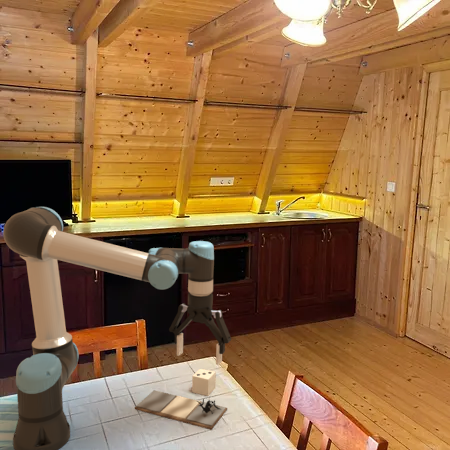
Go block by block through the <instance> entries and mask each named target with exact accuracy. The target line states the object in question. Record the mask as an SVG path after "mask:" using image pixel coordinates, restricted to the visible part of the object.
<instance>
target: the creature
mask: <svg viewBox="0 0 450 450" xmlns="http://www.w3.org/2000/svg"><path fill="white" fill-rule="evenodd" d="M199 401H200V400H197V401H196V402H198V403H199V404H200V405H198V406H201V407H202V409H203V411H205V412H206V413H208V412H209V411H211V410H210V408H211V407H212V406H213V405H214V406H215V408H217V409H220V408H218V407H217V406H216V405H217V404H216V400H210V399H208V400H207V401H206V402H205V398H203V399H202V402H203V403H202V404H201V403H200V402H199ZM204 402H205V403H206V405H205V407H203V406H202V405H203V404H204ZM211 404H213V405H211ZM217 409H216V410H217ZM211 412H212V411H211ZM212 414H213V413H212Z"/></svg>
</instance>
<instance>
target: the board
mask: <svg viewBox="0 0 450 450" xmlns="http://www.w3.org/2000/svg"><path fill="white" fill-rule="evenodd" d="M196 401H199V402H200V403H201V404H202V403H203V401H201V400H197V399H193V398H188V397H185V396H180V395H176V394H173V393H167V392H164V391H161V390H155V389H154V390H152V391H151V392H150V393H149V394H148V395H147V396H146V397H145V398H143V399H142V400H141V401H140V402H138V403H137V405H136V406H134V410H136V411H139V412H143V413H147V414H150V415H154V416H157V417H158V416H159V417H163V418H165V419H166V418H167V419H170V420H174V421H176V422H177V421H178V422H181V423H184V424H189V425H193V426H196V427H200V428H204V429H208V430H213V429H214V427H215V426H216V425H217V424H218V422H219V421H220V420H221V419H222V417H223V416H224V414H225V413H226V412H227V411H228V407H225V406H221V405H217V404H215V405H216V406H217V407H218V408H220V409H217V408H215V406H214V405H213V404H212V403H210V404H211V405H213V406H212V407H211V408H210V410H211V411H212V412H211V411H209V412H208V413H206V412H205V411H203V409H202V407H201V406H198V405H200V404H199V403H198V402H196ZM206 403H207V402H205V401H204V404H203V405H202V406H203V407H205V405H206ZM216 409H217V410H216ZM212 413H213V414H212Z"/></svg>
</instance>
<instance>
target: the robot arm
mask: <svg viewBox="0 0 450 450" xmlns="http://www.w3.org/2000/svg"><path fill="white" fill-rule="evenodd" d="M2 235H3V236H2V237H3V239H4V242H5V243H6V245H7V247H8V249H10V250H11V251H13V252H14V253H16V254H18V255H19V258H21V259H23V260H24V261H25V262H26V269H27V276H28V285H29V290H30V291H29V293H30V298H31V300H30V301H31V305H32V308H31V309H32V315H33V321H34V328H35V338H34V340H33V341H32V342H31V348H32V354H33V355H31V356H30V357H26V358H25V359H23V360H22V361H20V363H19V365H18V366H17V367H16V368H17V369H16V376H15V384H16V395H17V396H16V399H17V408H18V410H17V411H18V419H17V423H16V427H15V431H14V433H13V437H12V441H13V442H12V445H13V450H59V449H61V448H62V447H63V446H65V445H66V444H67V443H68V441H69V440H70V438H71V426H70V424H69V421H68V419H67V416H66V414H65V412H64V404H63V389H64V387H65V385H66V383H67V381H68V380H69V378H70V377H71V375H72V374H73V372H74V371H75V369H76V367H77V366H78V362H79V359H80V358H79V356H80V355H79V349H78V347H77V345H76V343H75V342H73V335H72V334H71V333H69V332H67V329H66V319H65V311H64V305H63V304H64V303H63V297H62V295H63V294H62V286H61V277H60V270H59V264H58V261H62V262H66V263H70V264H73V265H77V266H83V267H86V268H90V269H94V270H98V271H103V272H107V273H110V274H114V275H119V276H123V277H127V278H131V279H135V280H139V281H143V282H146V283H147V282H148V283H150V285H151V286H152V287H154V288H155V289H157V290H168V289H169V288H171V287H172V286H173V285H174V284H175V283H176V280H177V279H178V277H179V274H183V275H186V274H188V278H187V279H188V281H187V283H188V285H187V286H188V287H187V291H188V294H187V305H186V303H185V302H184V303H182V304H180V305H179V306H178V308H177V313H176V315H175V317H174V319H173V321H172V323H171V325H170V327H169V329H168V332H170V333H173V334H174V344H175V345H176V356H178V357H179V356H181V355H182V354H183V353H184V333H183V332H182V331H183V330H184V329H185V328H186V327H187V326H188V325H189V324H190V323H191V322H192V321H193V323H200V324H201V325H202V324H205V326H206V327H207V328H209V330H210V332H211V334H212V335H213V337H215V340H216V341H217V343H216V347H215V349H216V353H215V354H216V355H215V365H216V366H217V365H218V366H219V365H220V364H221V363H222V362H223V354H225V352H226V344H227V345H228V343H230V342H231V341H232V337H231V334H230V331H229V329H228V327H227V325H226V323H225V320H224V318H223V311H222V310H221V309H219V310H214V309H213V304H214V303H213V301H214V294H213V292H214V269H215V267H214V266H215V252H214V251H215V248H214V244H213V243H211V242H210V241H203V240H196V241H191V242H189V244H188V247H186V248H174V247H172V248H171V247H170V248H169V247H156V248H155V247H153V248H150V249H149V250H148V252H144V251H140V250H137V249H132V248H128V247H125V246H120V245H116V244H113V243H109V242H104V241H101V240H97V239H93V238H89V237H85V236H81V235H76V234H73V233H69V232H66V231H64V224H63V219H62V218H61V216H60V214H58V212H56V211H55V210H54V209H52V208H50V207H47V206H35V207H30V208H28V209H27V210H24V211H21V212H17V213H15V214H13V215H11V217H10V218H9V219H8V220H6V222H5V224H4V227H3V233H2ZM185 312H187V313H188V317H186V318H185V320H184V321H182V323H181V324H180V322H181V320H182V318H183V316H184V314H185ZM212 316H213V317H212ZM215 322H216V323H215ZM179 324H180V325H179Z"/></svg>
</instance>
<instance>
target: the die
mask: <svg viewBox="0 0 450 450" xmlns="http://www.w3.org/2000/svg"><path fill="white" fill-rule="evenodd" d="M216 377H217V374H216V371H215V370H208V369H204V368H203V369H202V368H199V369H198V370H197V371H196V372H195V373H193V375H192V378H191V379H192V380H191V381H192V383H191V384H192V390H191V391H192V393H194V394H197V395H202V396H205V397H206V396H207V397H210V396H211V394H212V393H213V391H214V390H215V389H216V382H217V381H216Z"/></svg>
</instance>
